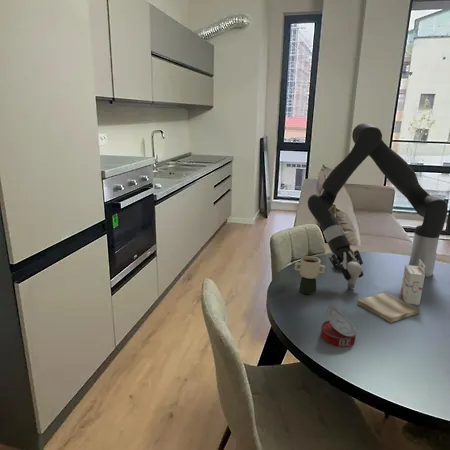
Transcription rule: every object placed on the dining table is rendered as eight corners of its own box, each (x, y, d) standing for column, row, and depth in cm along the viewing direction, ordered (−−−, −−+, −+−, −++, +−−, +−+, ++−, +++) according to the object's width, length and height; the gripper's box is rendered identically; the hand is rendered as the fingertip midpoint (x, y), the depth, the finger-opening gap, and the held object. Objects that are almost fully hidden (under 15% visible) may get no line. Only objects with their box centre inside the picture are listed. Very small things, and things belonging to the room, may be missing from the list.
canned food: (335, 341, 119) (349, 313, 119) (355, 357, 109) (371, 326, 109) (307, 330, 115) (322, 301, 115) (326, 346, 105) (342, 314, 105)
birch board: (384, 296, 140) (385, 292, 140) (418, 313, 128) (419, 309, 128) (357, 303, 134) (357, 299, 133) (390, 322, 122) (391, 318, 122)
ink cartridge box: (399, 293, 143) (405, 256, 139) (413, 294, 142) (420, 258, 138) (405, 303, 135) (411, 265, 131) (420, 305, 134) (427, 266, 130)
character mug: (322, 289, 144) (326, 257, 140) (322, 298, 137) (326, 264, 134) (293, 285, 146) (296, 254, 143) (292, 293, 140) (294, 260, 136)
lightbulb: (359, 287, 147) (362, 260, 144) (358, 293, 142) (362, 266, 139) (342, 284, 149) (346, 258, 146) (341, 290, 144) (345, 263, 141)
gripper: (327, 236, 143) (347, 277, 136) (355, 232, 150) (375, 271, 143) (317, 245, 149) (335, 285, 142) (343, 241, 156) (362, 278, 149)
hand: (355, 277), depth 142 cm, fingers closed on lightbulb, 5 cm apart
